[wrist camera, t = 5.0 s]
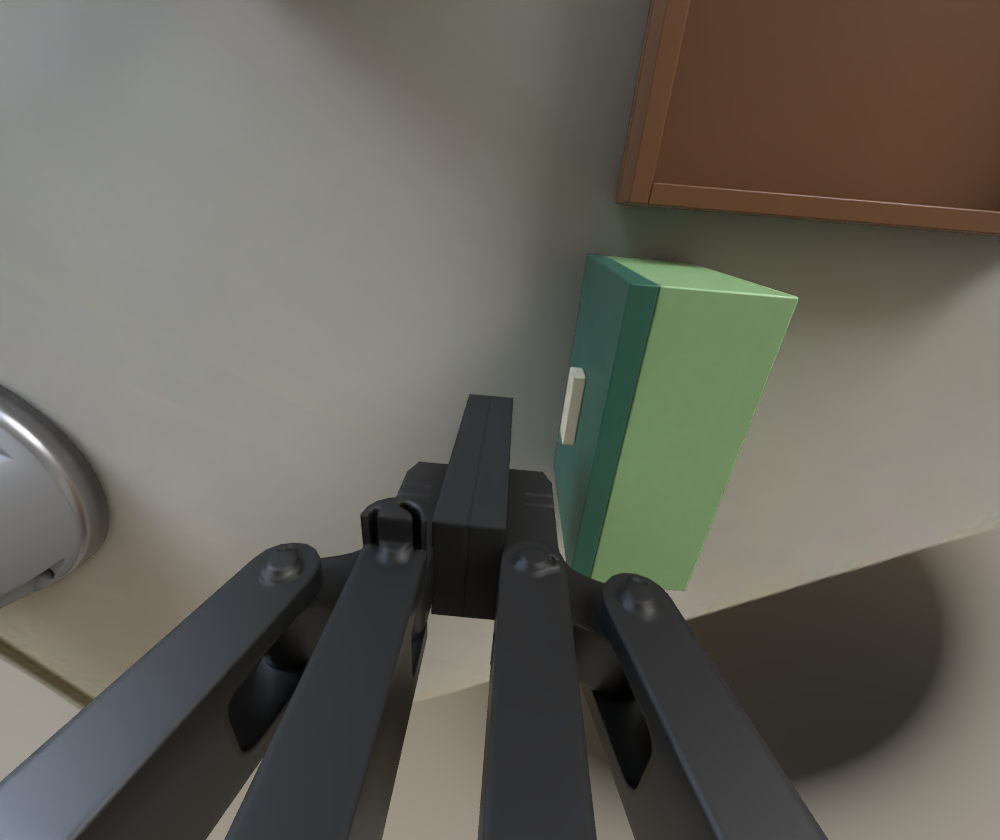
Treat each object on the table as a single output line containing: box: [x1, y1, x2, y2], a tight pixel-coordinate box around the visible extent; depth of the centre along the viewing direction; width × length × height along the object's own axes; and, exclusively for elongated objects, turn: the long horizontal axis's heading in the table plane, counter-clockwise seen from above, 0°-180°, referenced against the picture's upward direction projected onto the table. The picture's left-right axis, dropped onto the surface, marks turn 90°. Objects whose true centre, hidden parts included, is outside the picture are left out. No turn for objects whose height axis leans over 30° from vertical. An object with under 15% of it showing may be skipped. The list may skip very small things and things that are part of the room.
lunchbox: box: [554, 254, 798, 591], centre depth 17 cm, size 5×11×8 cm, turn 176°
